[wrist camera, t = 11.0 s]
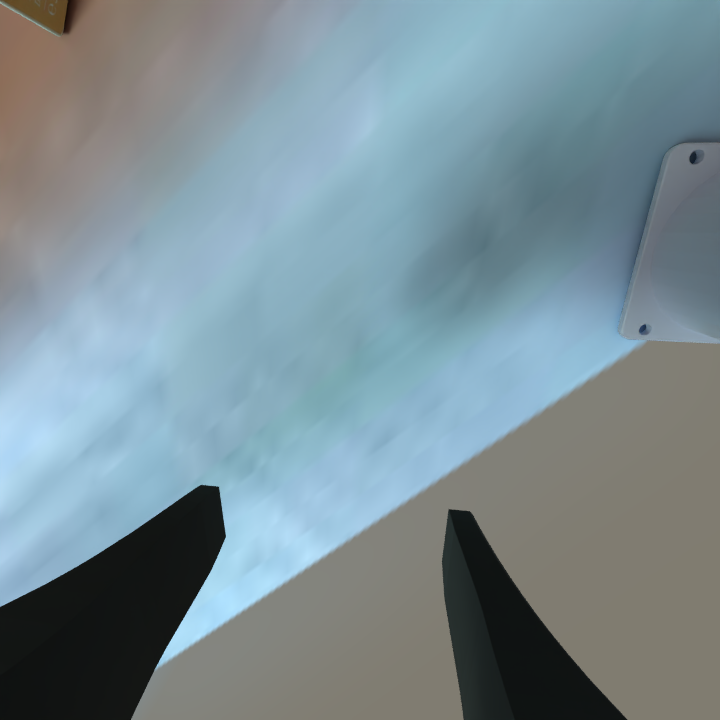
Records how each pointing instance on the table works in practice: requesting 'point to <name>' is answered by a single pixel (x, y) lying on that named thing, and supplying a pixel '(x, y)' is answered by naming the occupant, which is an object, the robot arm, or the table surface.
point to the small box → (41, 12)
